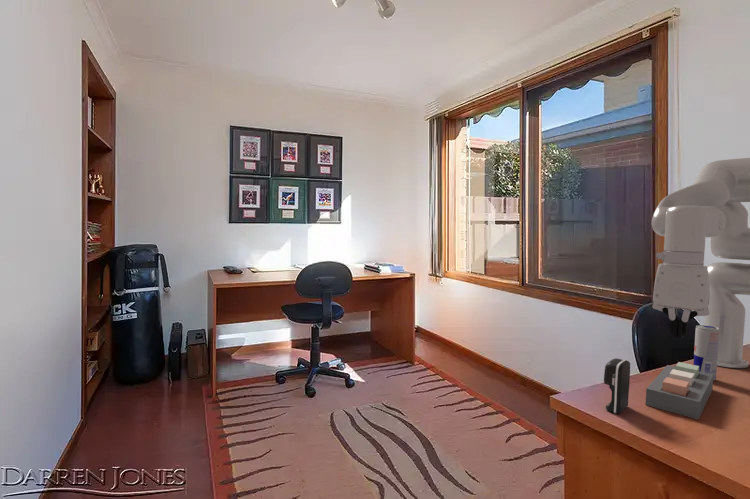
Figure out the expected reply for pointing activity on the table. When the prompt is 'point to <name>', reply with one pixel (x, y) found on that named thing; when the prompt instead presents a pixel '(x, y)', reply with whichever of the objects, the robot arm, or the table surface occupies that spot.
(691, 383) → the cream button
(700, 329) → the beverage can
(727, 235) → the robot arm
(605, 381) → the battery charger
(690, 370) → the sage button
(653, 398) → the frame
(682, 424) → the table surface
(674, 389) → the terracotta button
